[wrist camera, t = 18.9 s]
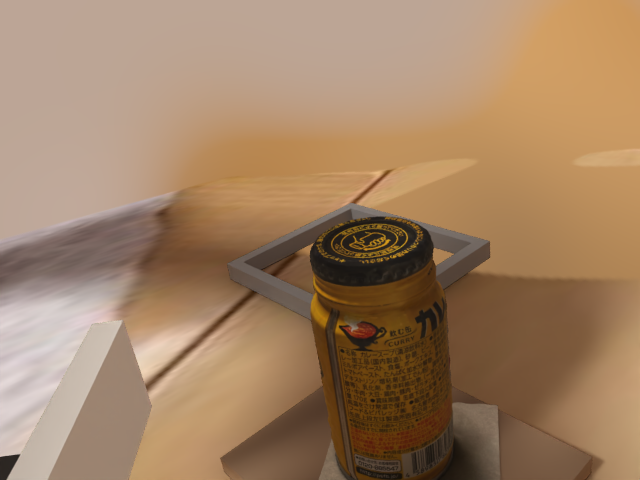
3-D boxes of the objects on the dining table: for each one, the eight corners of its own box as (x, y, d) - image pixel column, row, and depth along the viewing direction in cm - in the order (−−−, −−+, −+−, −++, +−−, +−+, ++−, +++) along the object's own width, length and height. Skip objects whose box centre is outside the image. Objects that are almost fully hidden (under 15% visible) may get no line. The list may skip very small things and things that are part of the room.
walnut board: (224, 471, 32) (220, 458, 31) (377, 360, 38) (376, 348, 38) (432, 668, 22) (430, 651, 21) (591, 472, 28) (592, 456, 28)
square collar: (230, 278, 52) (226, 263, 51) (352, 216, 60) (351, 202, 59) (361, 345, 40) (358, 327, 40) (489, 257, 49) (489, 241, 48)
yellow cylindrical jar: (343, 399, 34) (313, 207, 29) (497, 407, 32) (494, 201, 27) (312, 505, 28) (266, 284, 23) (502, 525, 26) (498, 284, 20)
